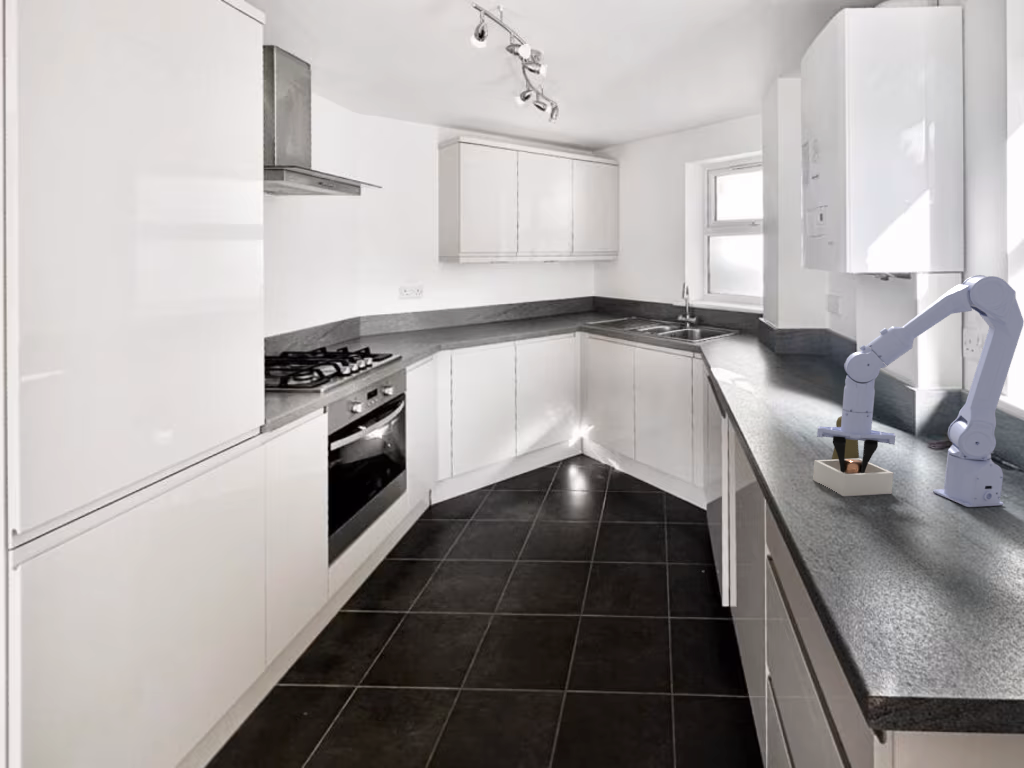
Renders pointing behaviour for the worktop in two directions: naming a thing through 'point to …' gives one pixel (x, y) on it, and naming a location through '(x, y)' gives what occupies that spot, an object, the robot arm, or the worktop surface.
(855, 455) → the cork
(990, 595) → the worktop surface
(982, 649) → the worktop surface
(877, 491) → the white shallow open box
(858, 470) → the copper knob lid
